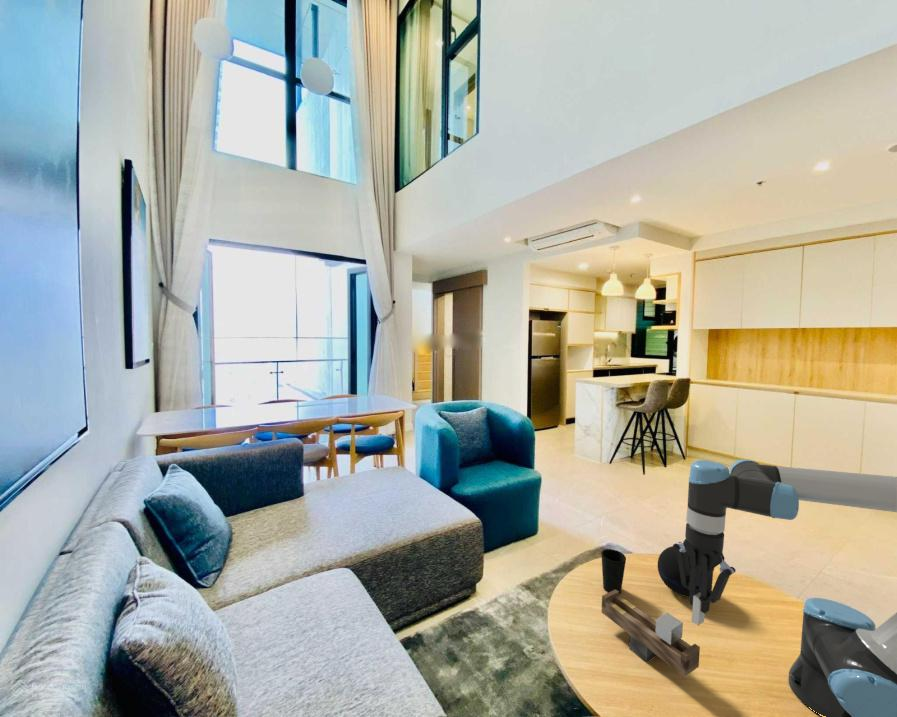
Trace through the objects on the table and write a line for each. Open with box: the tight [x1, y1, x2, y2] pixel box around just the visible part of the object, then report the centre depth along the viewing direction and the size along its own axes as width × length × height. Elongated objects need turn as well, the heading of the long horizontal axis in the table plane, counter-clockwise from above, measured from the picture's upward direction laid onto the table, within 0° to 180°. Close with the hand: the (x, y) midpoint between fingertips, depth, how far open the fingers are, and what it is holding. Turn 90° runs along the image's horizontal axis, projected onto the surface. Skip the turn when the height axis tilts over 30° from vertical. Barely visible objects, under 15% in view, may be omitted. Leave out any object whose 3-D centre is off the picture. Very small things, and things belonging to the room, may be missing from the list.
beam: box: [601, 589, 701, 678], centre depth 103 cm, size 24×6×9 cm, turn 29°
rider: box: [655, 612, 684, 648], centre depth 97 cm, size 4×5×7 cm
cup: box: [600, 548, 627, 595], centre depth 128 cm, size 8×8×12 cm
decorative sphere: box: [657, 545, 702, 598], centre depth 127 cm, size 15×15×15 cm
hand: (697, 621), depth 91 cm, fingers closed
